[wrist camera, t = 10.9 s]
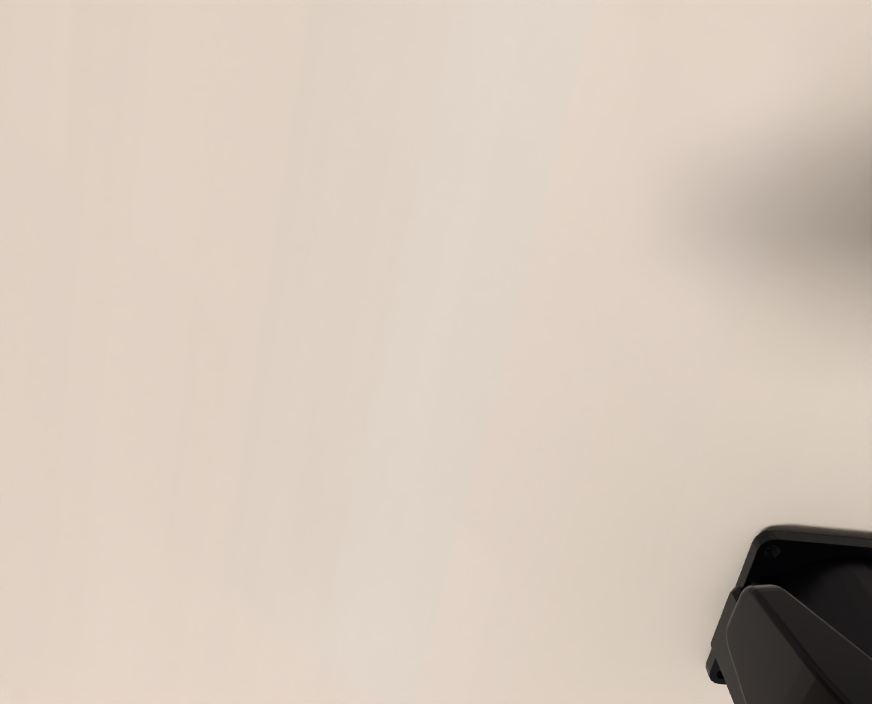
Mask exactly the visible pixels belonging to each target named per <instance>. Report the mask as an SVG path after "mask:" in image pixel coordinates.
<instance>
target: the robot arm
mask: <svg viewBox="0 0 872 704" xmlns="http://www.w3.org/2000/svg"><path fill="white" fill-rule="evenodd" d="M773 545H775V546H774V547H772V548H770V549H767V548H768V547H770V546H773ZM711 647H712V649H711V652H710V654H709V657H708V659H707V662H706V670H707V672H708V675H709V677H710V679H711V681H713V682H714V683H718V684H726V685H727V687H728V690H729V692H730V695H731V697H732V700H733V702H734V704H872V540H871V539H860V538H849V537H837V536H826V535H815V534H804V533H793V532H782V531H765V532H763V533H760V534H759V535H758V536H756V537H755V539H754V540H753V542H752V545H751V547H750V550H749V552H748V555H747V558H746V560H745V563H744V565H743V568H742V571H741V573H740V576H739V578H738V581H737V584H736V586H735V588H734V589H733V590H732V591H731V592H730V594H729V597H728V599H727V602H726V604H725V607H724V610H723V612H722V615H721V618H720V620H719V623H718V625H717V628H716V631H715V633H714V636H713V639H712V641H711Z"/></svg>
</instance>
